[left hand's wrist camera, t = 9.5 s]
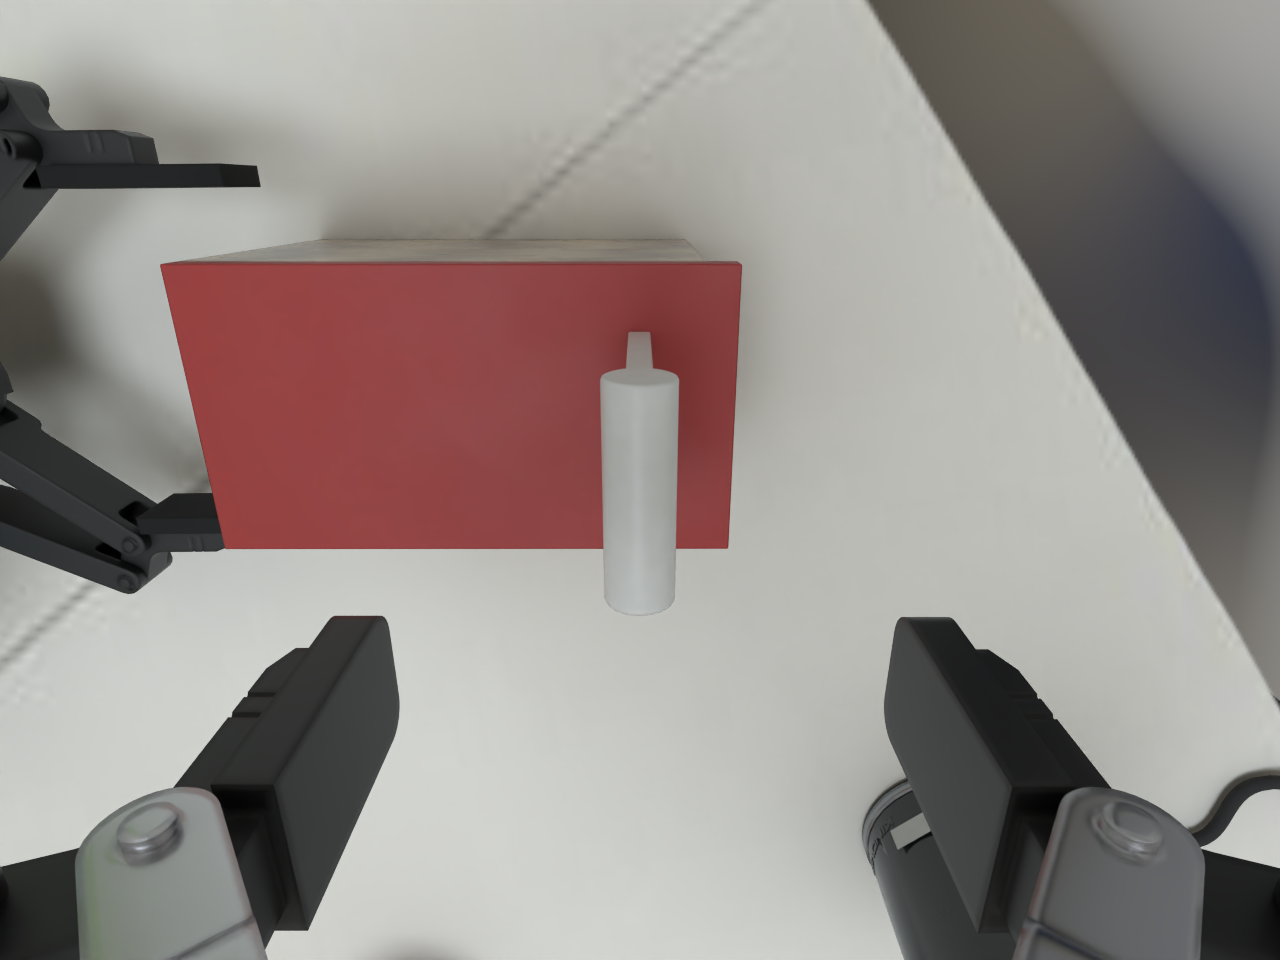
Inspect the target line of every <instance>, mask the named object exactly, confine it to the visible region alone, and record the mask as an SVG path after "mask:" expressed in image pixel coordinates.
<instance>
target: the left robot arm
mask: <svg viewBox="0 0 1280 960" xmlns="http://www.w3.org/2000/svg"><path fill="white" fill-rule="evenodd" d="M1271 694H1272V693H1271ZM1272 696H1273V698H1274V700H1275V702H1276V703H1277V705H1278V707H1279V709H1280V700H1278V699H1277V698H1276V697H1275V696H1274V695H1273V694H1272ZM884 715H885V723H886V729H887V733H888V736H889V739H890V742H891V744H892V746H893V748H894V751H895V753H896V755H897V757H898V759H899V762H900V764H901V766H902V768H903V770H904V773H905V775H906V777H907V779H908V781H906V782H904V783H902V784H900V785H898V786H896V787H895V788H893V789H892V790H890V791H889V792H887V793H886V794H885V795H884V796H883V797H882V798H881V799H880V800H879V801H878V802H877V803H876V804H875V805H874V806H873V808H872V809H871V811H870V812H869V814H868V816H867V818H866V821H865V824H864V828H863V845H864V848H865V851H866V854H867V857H868V860H869V862H870V864H871V866H872V869H873V872H874V875H875V876H876V878H877V881H878V884H879V887H880V890H881V893H882V896H883V899H884V902H885V905H886V908H887V911H888V914H889V917H890V920H891V923H892V926H893V929H894V932H895V935H896V938H897V940H898V943H899V946H900V949H901V952H902V955H903V958H904V960H1280V868H1276V867H1272V866H1268V865H1264V864H1260V863H1256V862H1251V861H1247V860H1243V859H1239V858H1235V857H1231V856H1226V855H1222V854H1218V853H1214V852H1210V851H1207V850H1203V849H1201V848H1200V847H1202V846H1205V845H1207V844H1209V843H1211V842H1213V841H1214V840H1216V839H1217V838H1218V837H1219V836H1220V835H1221V834H1222V833H1223V832H1224V830H1225V829H1226V827H1227V826H1228V825H1229V823H1230V821H1231V820H1232V818H1233V816H1234V815H1235V813H1236V812H1237V810H1238V809H1239V807H1240V806H1241V805H1242V803H1243V802H1244V801H1245V800H1246V799H1248V798H1249V797H1250V796H1252V795H1253V794H1255V793H1258V792H1260V791H1264V790H1271V789H1280V776H1271V775H1269V776H1262V777H1255V778H1251V779H1248V780H1246V781H1243V782H1242V783H1240V784H1238V785H1237V786H1236V787H1235V788H1233V789H1232V790H1231V791H1230V793H1229V794H1228V795H1227V796H1226V798H1225V799H1224V801H1223V802H1222V804H1221V805H1220V807H1219V809H1218V810H1217V812H1216V814H1215V815H1214V817H1213V818H1212V820H1211V821H1210V822H1209V823H1208V825H1206V826H1205V827H1204V828H1203V829H1201V830H1200V831H1198V832H1196V833H1193V834H1191V833H1190V832H1189V831H1188V830H1187V829H1186V828H1185V827H1184V826H1183V825H1182V824H1181V823H1180V822H1179V821H1177V820H1176V819H1175V818H1174V817H1172V816H1171V815H1170V814H1168V813H1167V812H1165V811H1164V810H1162V809H1161V808H1159V807H1157V806H1156V805H1154V804H1152V803H1150V802H1148V801H1146V800H1144V799H1142V798H1139V797H1137V796H1135V795H1132V794H1129V793H1126V792H1123V791H1119V790H1115V789H1112V788H1111V787H1110V786H1109V785H1108V783H1107V782H1106V781H1105V780H1104V778H1103V777H1102V776H1101V774H1100V773H1099V772H1098V771H1097V769H1096V768H1095V767H1094V766H1093V764H1092V763H1091V762H1090V761H1089V759H1088V758H1087V757H1086V755H1085V754H1084V753H1083V752H1082V750H1081V749H1080V748H1079V747H1078V745H1077V744H1076V743H1075V741H1074V740H1073V739H1072V738H1071V736H1070V735H1069V734H1068V733H1067V731H1066V730H1065V729H1064V728H1063V726H1062V725H1061V724H1060V722H1059V721H1058V720H1057V719H1053V714H1052V712H1051V711H1050V710H1049V709H1048V707H1047V706H1046V705H1045V703H1044V702H1043V701H1042V700H1041V699H1038V698H1037V693H1036V692H1035V691H1034V689H1033V688H1032V687H1031V686H1030V684H1029V683H1028V682H1027V681H1026V679H1025V678H1024V677H1023V676H1022V674H1021V673H1020V672H1019V670H1017V669H1016V668H1014V667H1013V666H1012V665H1010V664H1009V663H1007V662H1006V661H1004V660H1003V659H1001V658H1000V657H999V656H997V655H996V654H994V653H993V652H991V651H990V650H988V649H975V648H974V646H973V645H972V644H971V642H970V641H969V640H968V638H967V637H966V635H965V634H964V633H963V631H962V630H961V629H960V627H959V626H958V625H957V623H956V622H955V621H954V620H953V619H952V618H950V617H901V618H900V619H899V620H898V622H897V624H896V627H895V631H894V638H893V645H892V651H891V658H890V665H889V672H888V678H887V685H886V692H885V700H884ZM398 719H399V693H398V686H397V679H396V672H395V665H394V658H393V652H392V645H391V638H390V631H389V626H388V623H387V621H386V619H385V617H383V616H333V617H332V618H331V619H330V620H329V621H328V622H327V624H326V625H325V626H324V628H323V629H322V630H321V632H320V633H319V635H318V636H317V637H316V639H315V640H314V641H313V643H312V644H311V646H310V647H309V648H295V649H294V650H292V651H291V652H290V653H288V654H287V655H285V656H284V657H282V658H281V659H279V660H278V661H277V662H275V663H274V664H272V665H271V666H269V667H268V668H266V670H265V671H264V672H263V674H262V675H261V676H260V677H259V679H258V680H257V681H256V682H255V684H254V685H253V686H252V688H251V689H250V690H249V691H248V696H247V697H244V698H243V699H242V700H241V702H240V703H239V704H238V706H237V707H236V708H235V709H234V711H233V712H232V717H228V718H227V720H226V721H225V722H224V723H223V725H222V726H221V727H220V729H219V730H218V731H217V732H216V734H215V735H214V736H213V738H212V739H211V740H210V741H209V743H208V744H207V745H206V746H205V748H204V749H203V750H202V752H201V753H200V754H199V755H198V757H197V758H196V759H195V761H194V762H193V763H192V764H191V766H190V767H189V768H188V770H187V771H186V772H185V773H184V775H183V776H182V777H181V778H180V780H179V781H178V782H177V784H176V785H175V786H174V787H173V788H170V789H165V790H161V791H157V792H154V793H151V794H148V795H145V796H143V797H141V798H138V799H136V800H134V801H132V802H130V803H128V804H126V805H124V806H123V807H121V808H119V809H118V810H116V811H115V812H113V813H112V814H110V815H109V816H108V817H106V818H105V819H104V820H103V821H101V822H100V823H99V824H98V825H97V826H96V827H95V828H94V829H93V830H92V831H91V832H90V833H89V835H88V836H87V837H86V838H85V839H84V841H83V843H82V844H81V846H80V848H77V849H73V850H69V851H65V852H61V853H57V854H53V855H49V856H44V857H40V858H36V859H32V860H28V861H24V862H19V863H15V864H11V865H7V866H3V867H0V960H268V959H267V955H266V952H265V949H266V947H267V945H268V943H269V941H270V939H271V937H272V935H273V932H274V931H308V929H309V927H310V925H311V922H312V920H313V918H314V916H315V914H316V911H317V909H318V907H319V905H320V902H321V900H322V898H323V896H324V893H325V891H326V889H327V887H328V885H329V882H330V880H331V878H332V876H333V873H334V871H335V869H336V867H337V865H338V862H339V860H340V858H341V856H342V853H343V851H344V849H345V847H346V844H347V842H348V840H349V838H350V836H351V833H352V831H353V829H354V827H355V824H356V822H357V820H358V818H359V815H360V813H361V811H362V809H363V807H364V804H365V802H366V800H367V798H368V795H369V793H370V791H371V789H372V787H373V784H374V782H375V780H376V778H377V775H378V773H379V771H380V769H381V766H382V764H383V762H384V760H385V758H386V755H387V753H388V751H389V749H390V746H391V744H392V742H393V740H394V737H395V734H396V730H397V726H398Z"/></svg>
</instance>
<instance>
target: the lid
mask: <svg viewBox="0 0 1280 960" xmlns="http://www.w3.org/2000/svg"><path fill="white" fill-rule="evenodd" d="M160 267H161V271H162V276H163V280H164V284H165V289H166V293H167V297H168V302H169V306H170V310H171V315H172V319H173V323H174V328H175V332H176V336H177V341H178V345H179V349H180V354H181V358H182V363H183V367H184V371H185V376H186V380H187V384H188V389H189V393H190V397H191V402H192V406H193V410H194V415H195V419H196V423H197V428H198V432H199V437H200V441H201V445H202V450H203V454H204V458H205V463H206V467H207V471H208V476H209V480H210V484H211V489H212V493H213V497H214V502H215V506H216V510H217V515H218V519H219V524H220V528H221V532H222V537H223V541H224V545H225V549H604V596H605V600H606V602H607V604H608V605H609V606H610V607H611V608H612V609H614V610H615V611H618V612H620V613H623V614H627V615H634V616H645V615H652V614H656V613H659V612H662V611H664V610H666V609H667V608H668V607H670V606H671V604H672V603H673V601H674V598H675V560H676V549H727V548H728V541H729V521H730V500H731V479H732V459H733V438H734V418H735V397H736V377H737V356H738V336H739V315H740V295H741V274H742V264H740V263H739V262H737V261H598V262H172V263H165V264H161V265H160Z"/></svg>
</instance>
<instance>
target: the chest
mask: <svg viewBox="0 0 1280 960" xmlns="http://www.w3.org/2000/svg"><path fill="white" fill-rule="evenodd" d="M598 261H706V260H705V259H704V258H703V257H702V256H701V255H700V254H699V253H698V252H697V251H696V250H695V249H694V248H693V247H692V246H691V245H690V244H689V242H688V241H686V240H315V241H308V242H301V243H295V244H288V245H282V246H275V247H269V248H262V249H256V250H249V251H243V252H236V253H230V254H223V255H217V256H211V257H204V258H198V259H191V260H185V261H180V262H598Z"/></svg>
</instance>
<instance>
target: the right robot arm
mask: <svg viewBox="0 0 1280 960" xmlns="http://www.w3.org/2000/svg"><path fill="white" fill-rule="evenodd" d="M49 106H50V104H49V98H48V96H47V94H46V92H45V91H44V90H43V89H42V88H41V87H40V86H39V85H37V84H35V83H33V82H28V81H22V80H17V79H11V78H6V77H0V261H1V260H2V258H3V257H4V256H5V255H6V253H7V252H8V251H9V250H10V248H11V247H12V246H13V245H14V243H15V242H16V241H17V240H18V239H19V237H20V236H21V235H22V234H23V232H24V231H25V230H26V229H27V227H28V226H29V225H30V224H31V222H32V221H33V220H34V219H35V217H36V216H37V215H38V214H39V213H40V211H41V210H42V209H43V208H44V206H45V205H46V204H47V203H48V201H49V200H50V199H51V198H52V196H53V195H54V194H55V193H56V191H57V190H58V189H116V188H206V187H261V186H260V181H259V175H258V170H257V166H249V165H234V164H159V162H158V158H157V153H156V149H155V144H154V140H153V138H150V137H148V136H145V135H143V134H140V133H136V132H127V131H118V130H63V129H62V128H60V127H59V126H58V125H57V124H56V123H55V122H54V120H53V119H52V118H51V116H50V114H49V113H48V110H49ZM11 392H13V389H12V386H11V383H10V380H9V377H8V374H7V372H6V371H5V369H4V367H3V366H2V364H1V363H0V479H2V480H3V481H5V482H6V483H8V484H10V485H11V486H13V487H15V488H16V489H14V488H11V487H8V486H4V485H0V546H1V547H3V548H6V549H9V550H11V551H14V552H17V553H19V554H22V555H25V556H27V557H30V558H33V559H35V560H38V561H40V562H43V563H46V564H48V565H51V566H54V567H56V568H59V569H62V570H64V571H67V572H70V573H72V574H75V575H78V576H80V577H83V578H85V579H88V580H91V581H93V582H96V583H99V584H101V585H104V586H107V587H109V588H112V589H115V590H117V591H120V592H123V593H127V594H132V593H135V592H137V591H138V590H139V589H141V588H142V587H143V586H145V585H146V584H147V583H148V582H150V581H151V580H152V579H153V578H155V577H156V576H157V575H158V574H160V573H161V572H162V571H163V570H165V569H166V568H167V567H168V566H170V564H171V563H172V555H171V553H170V552H193V551H195V552H202V551H204V552H211V551H219V550H221V549H224V548H225V545H224V541H223V537H222V532H221V528H220V524H219V519H218V515H217V510H216V506H215V502H214V497H213V493H176V494H172V495H171V496H169V497H168V498H166V499H165V500H163V501H162V502H160V503H158V504H157V503H155V502H153V501H152V500H150V499H149V498H147V497H146V496H144V495H142V494H141V493H139V492H138V491H136V490H134V489H133V488H131V487H130V486H128V485H127V484H125V483H123V482H122V481H120V480H119V479H117V478H116V477H114V476H112V475H111V474H109V473H108V472H106V471H105V470H103V469H101V468H100V467H98V466H97V465H95V464H94V463H92V462H90V461H89V460H87V459H86V458H84V457H83V456H81V455H79V454H78V453H76V452H75V451H73V450H72V449H70V448H68V447H67V446H65V445H64V444H62V443H61V442H59V441H57V440H56V439H54V438H53V437H51V436H50V435H48V434H46V433H45V432H43V431H42V429H41V422H40V421H39V420H38V419H37V418H35V417H34V416H32V415H31V414H29V413H27V412H26V411H24V410H23V409H21V408H20V407H18V406H16V405H15V404H13V403H12V402H10V401H9V400H7V394H8V393H11ZM17 489H18V490H17Z"/></svg>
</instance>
